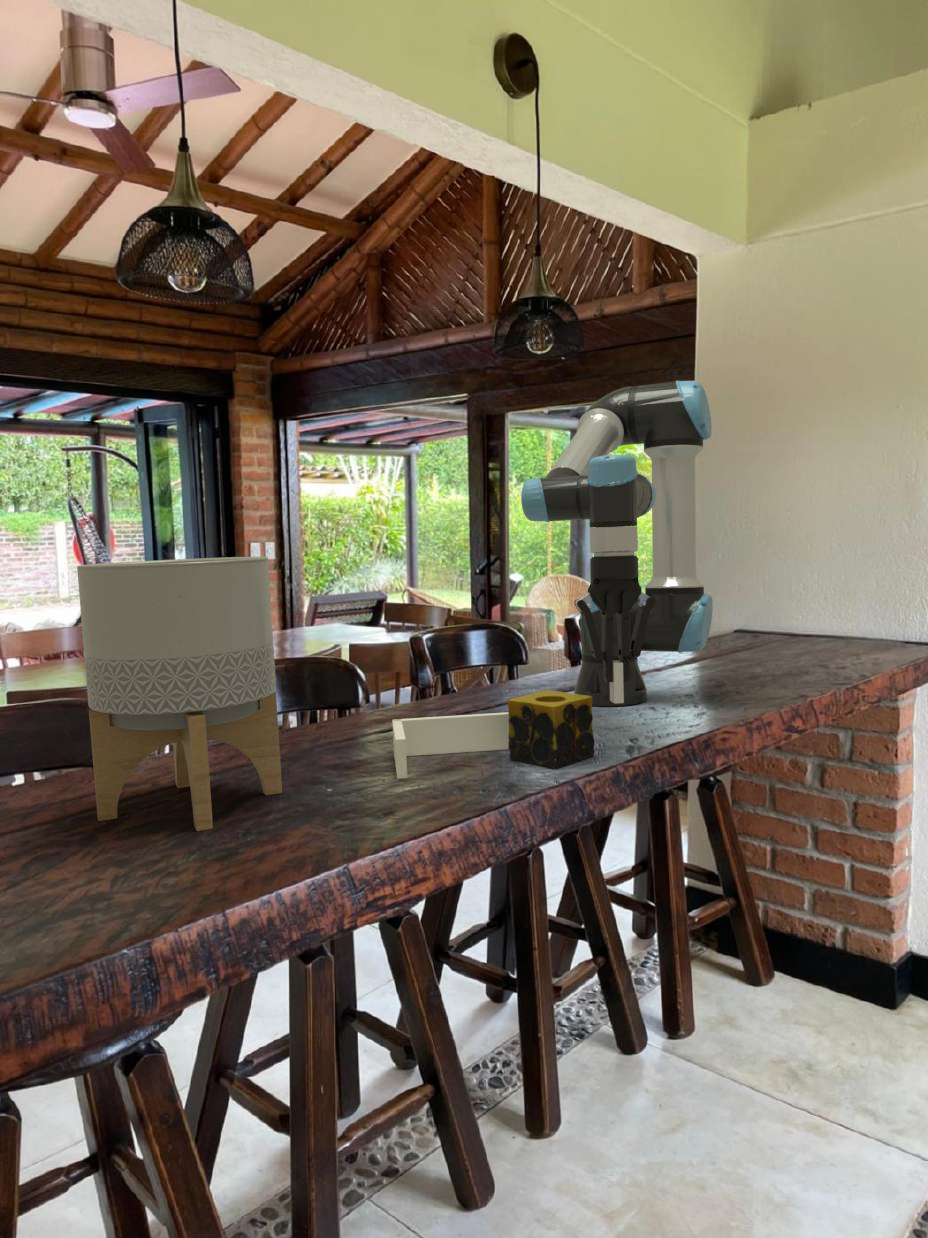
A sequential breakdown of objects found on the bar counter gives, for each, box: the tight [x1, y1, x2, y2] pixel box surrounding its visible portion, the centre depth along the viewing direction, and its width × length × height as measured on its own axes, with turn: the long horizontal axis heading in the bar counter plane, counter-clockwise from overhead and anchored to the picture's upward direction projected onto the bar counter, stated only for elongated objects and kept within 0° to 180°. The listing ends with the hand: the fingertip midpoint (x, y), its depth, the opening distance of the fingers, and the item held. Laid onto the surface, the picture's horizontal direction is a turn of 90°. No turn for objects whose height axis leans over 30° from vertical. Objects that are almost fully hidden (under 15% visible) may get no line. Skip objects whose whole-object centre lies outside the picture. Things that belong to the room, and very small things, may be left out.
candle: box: [507, 689, 595, 770], centre depth 144 cm, size 10×10×10 cm
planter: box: [76, 556, 283, 832], centre depth 125 cm, size 25×25×34 cm
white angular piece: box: [391, 711, 509, 780], centre depth 144 cm, size 20×15×6 cm
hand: (616, 701), depth 144 cm, fingers closed
